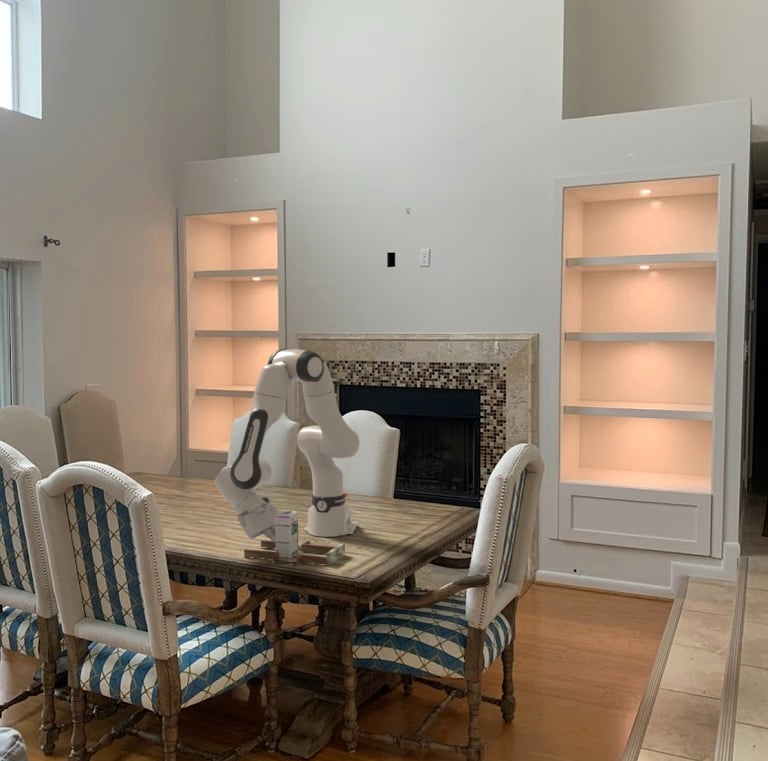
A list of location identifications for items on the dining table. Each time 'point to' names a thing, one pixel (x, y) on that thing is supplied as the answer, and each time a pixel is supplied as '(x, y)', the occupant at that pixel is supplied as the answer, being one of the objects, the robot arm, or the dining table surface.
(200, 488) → the dining table surface
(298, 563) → the trap lane
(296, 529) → the syrup box
